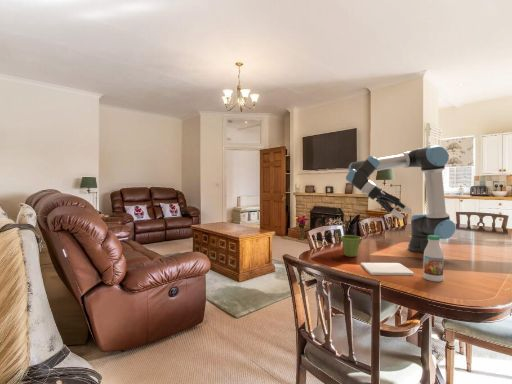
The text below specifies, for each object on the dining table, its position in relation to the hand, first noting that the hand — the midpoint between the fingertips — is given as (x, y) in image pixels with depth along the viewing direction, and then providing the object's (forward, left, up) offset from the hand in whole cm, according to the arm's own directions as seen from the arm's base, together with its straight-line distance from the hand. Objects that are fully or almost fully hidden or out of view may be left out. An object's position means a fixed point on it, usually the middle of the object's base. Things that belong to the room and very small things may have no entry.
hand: (406, 215), depth 146 cm
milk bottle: (-3, +19, -27) cm, 33 cm away
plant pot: (+23, -21, -27) cm, 41 cm away
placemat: (+13, +6, -27) cm, 30 cm away
